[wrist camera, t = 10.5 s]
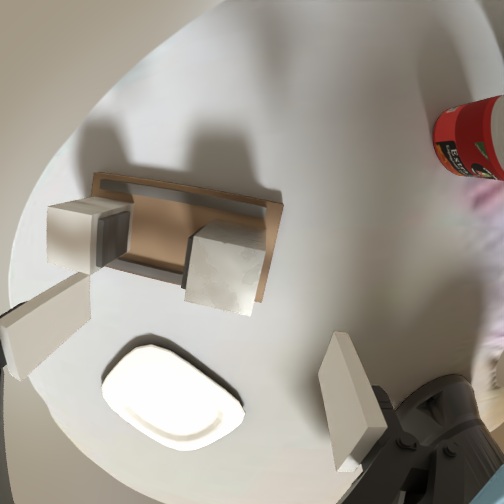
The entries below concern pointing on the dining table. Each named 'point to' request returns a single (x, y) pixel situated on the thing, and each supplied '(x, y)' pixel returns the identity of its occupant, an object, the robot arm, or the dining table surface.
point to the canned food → (472, 139)
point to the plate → (170, 399)
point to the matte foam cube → (224, 266)
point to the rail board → (148, 226)
